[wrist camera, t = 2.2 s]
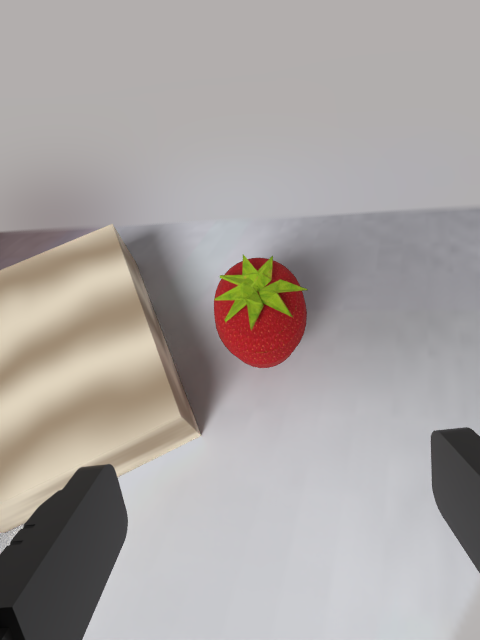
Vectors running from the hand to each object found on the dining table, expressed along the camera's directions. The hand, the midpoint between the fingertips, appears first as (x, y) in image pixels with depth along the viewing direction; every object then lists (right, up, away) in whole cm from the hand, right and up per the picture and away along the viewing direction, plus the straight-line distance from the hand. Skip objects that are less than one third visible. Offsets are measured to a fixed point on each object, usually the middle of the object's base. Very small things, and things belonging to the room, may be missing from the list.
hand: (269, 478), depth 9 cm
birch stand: (-13, 0, +19) cm, 24 cm away
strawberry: (+1, +2, +18) cm, 18 cm away
